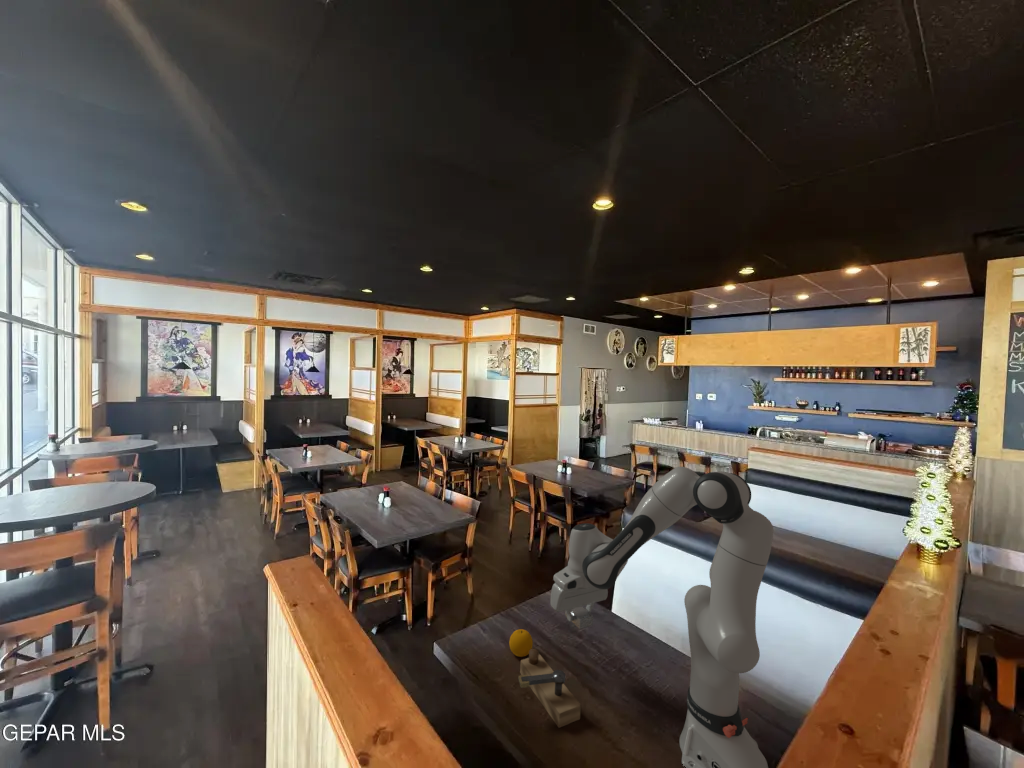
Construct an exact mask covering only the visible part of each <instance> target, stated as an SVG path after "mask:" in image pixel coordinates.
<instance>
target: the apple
mask: <svg viewBox="0 0 1024 768" xmlns="http://www.w3.org/2000/svg"><path fill="white" fill-rule="evenodd" d="M508 643H509V649H510V651H511V653H512V654H513V655H514V656H516V657H519V658H523V657H526V656H529V650H531V649H533V645H534V642H533V638H532V634H531V633H530V632H529V631H528V630H526V629H521V628H520V629H517V630H514V631H513V632H512V633H511V635H510V637H509V642H508Z"/></svg>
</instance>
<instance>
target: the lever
mask: <svg viewBox="0 0 1024 768" xmlns="http://www.w3.org/2000/svg"><path fill="white" fill-rule="evenodd" d="M553 671H554V672H553V673H551V674H543V675H534V676H527V675H521V674H520V675H518V679H517V680H518V683H519V686H520V688H521V689H523V688H530V686H529V685H535V684H543V683H552V682H554V683H556V684H564V685H565V683H566V673H565V672H564V671H563V670H561V669H555V670H553Z"/></svg>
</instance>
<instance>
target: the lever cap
mask: <svg viewBox="0 0 1024 768" xmlns="http://www.w3.org/2000/svg"><path fill="white" fill-rule="evenodd" d="M570 612H571V613H572V614H573V615H574V620H573V621H571V623H573V624H574V626H576V627H577V628H578V630H582V629H585V628H589V627H591V626H593V625H594V624H593V623H594V615H593V614H592V613H591V614H590V613H589V612H588V611H587V610H586V607H583V606H580V607H576V608H573V609H572V611H570ZM564 616H565V617H567V613H566V611H564Z"/></svg>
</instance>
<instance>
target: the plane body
mask: <svg viewBox="0 0 1024 768" xmlns="http://www.w3.org/2000/svg"><path fill="white" fill-rule="evenodd" d="M519 669H520V671H519V673H520V675H527V676H534V675H543V674H551V673H553V672H554V671H555V670H554V669H552V668H551V666H550V665H549V664H548V662H546V659H544V657H543V656H542V655H541V654H540V653H539V650H538V649H536V648H532V649H531V650H529V654H528V657H527V658H523V659H521V660H520V667H519ZM529 688H530V689H531V690H532V692H533V693H534V695H535V696H536V698H537V699H538V701H540V703H541V704H542V706H543V707H544V709H545V710H546V712H547V713H548V715H549V716H550V718H551V719H552V720H553V722H554V723H555V724H556V726H557V727H558V729H559V728H562V727H565V726H567V725H570V724H573V722H576V721H579V720H580V719H581V708H582V707H581V706H582V705H581V703H580V702H579V701H578V699H577V698H576V697H575V696H574V694H573V693H572V692H571V691H570V690H569V688H568V687H567V686H566V685H565V683H564V684H556V683H554V682H552V683H543V684H535V685H529Z"/></svg>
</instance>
